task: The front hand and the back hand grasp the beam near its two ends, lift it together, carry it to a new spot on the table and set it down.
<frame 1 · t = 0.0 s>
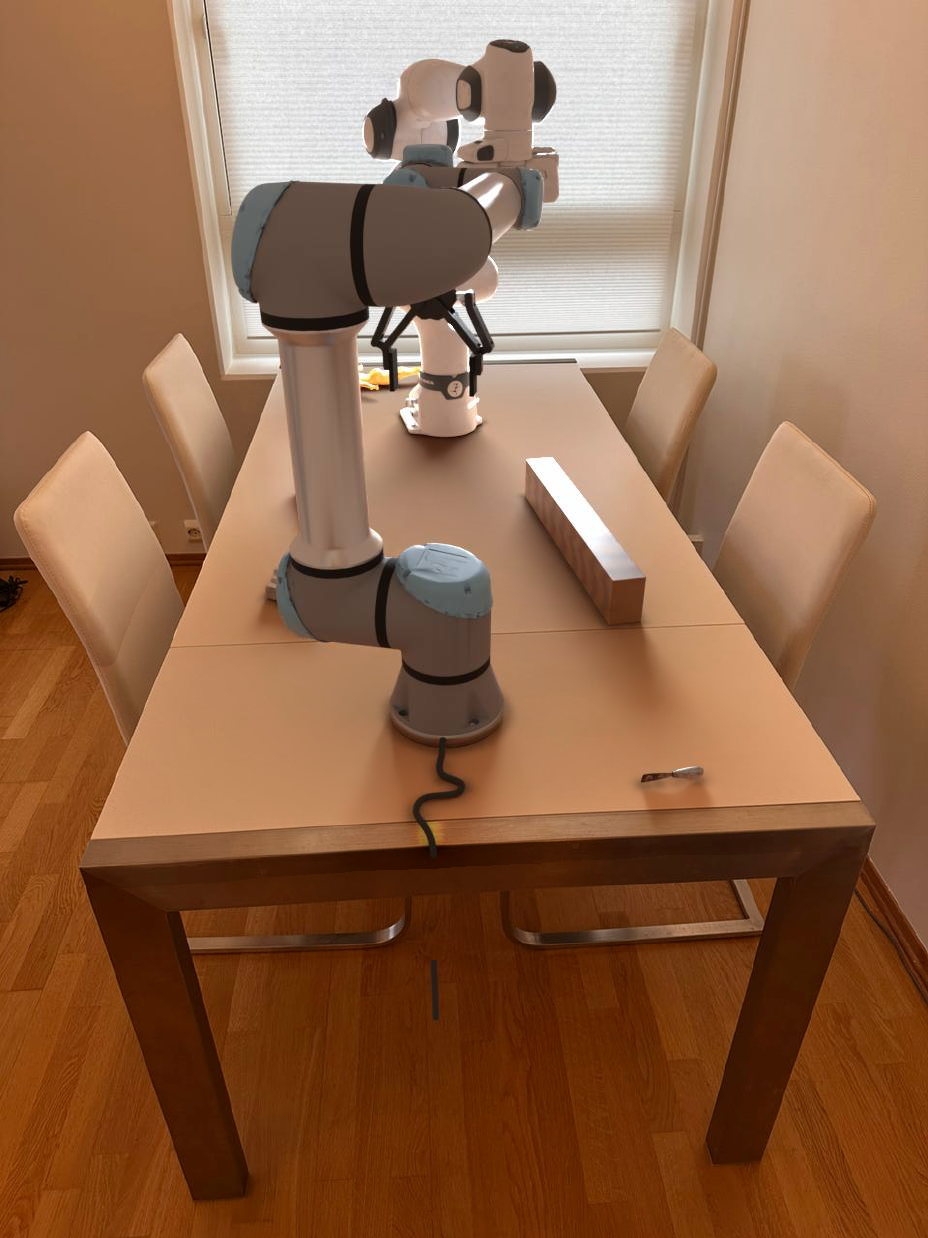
front hand: (433, 391, 149), 28 cm above the table, tool pointing down, fingers open, 13 cm apart
back hand: (506, 231, 166), 48 cm above the table, tool pointing down, fingers open, 8 cm apart
beam: (575, 550, 161), on the table
human figure: (378, 385, 244), on the table
stone: (304, 597, 147), on the table
handgun: (332, 501, 179), on the table
putty knife: (671, 781, 109), on the table
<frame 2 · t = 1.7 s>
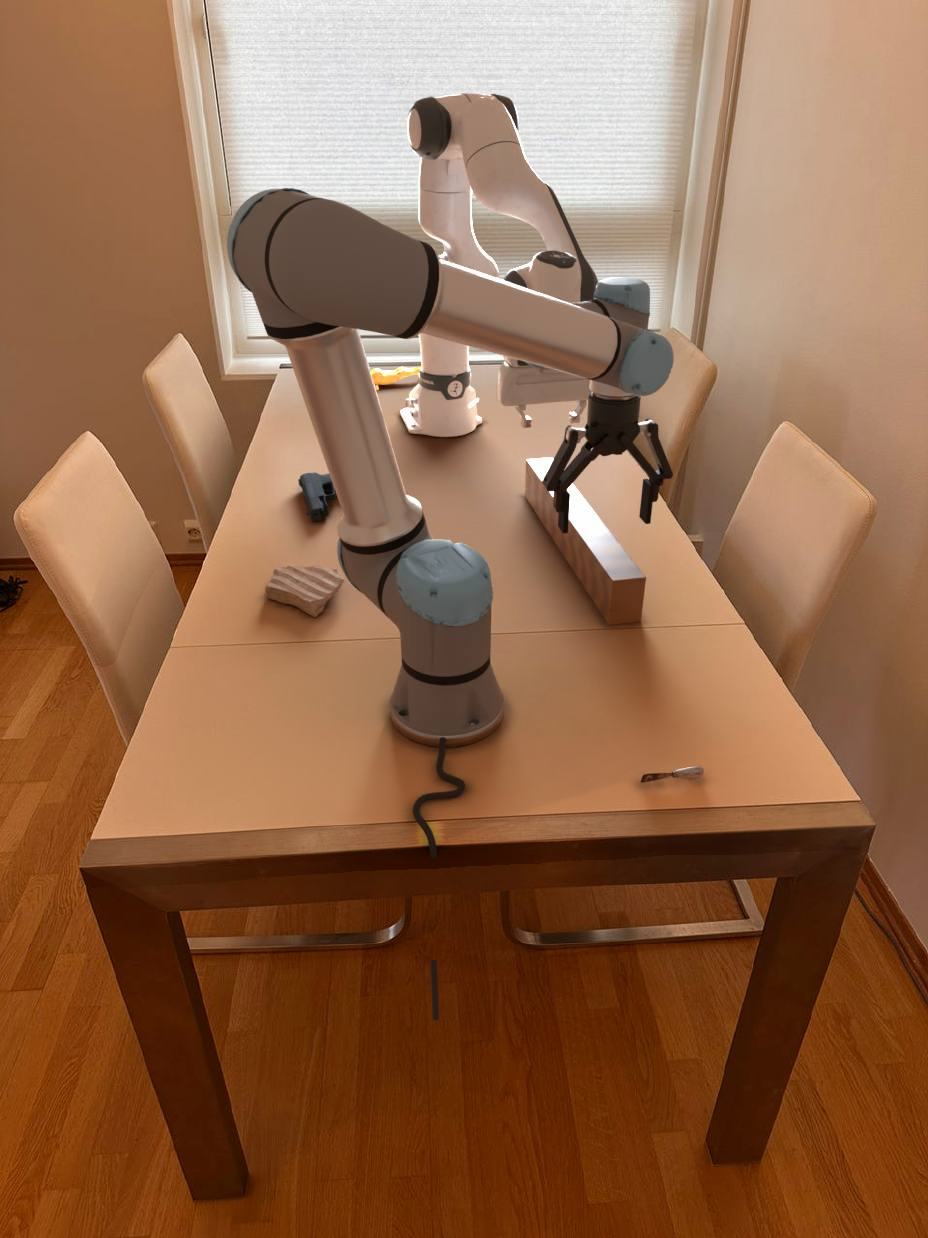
front hand: (604, 525, 140), 13 cm above the table, tool pointing down, fingers open, 13 cm apart
back hand: (550, 424, 167), 17 cm above the table, tool pointing down, fingers open, 8 cm apart
nothing on the table moved.
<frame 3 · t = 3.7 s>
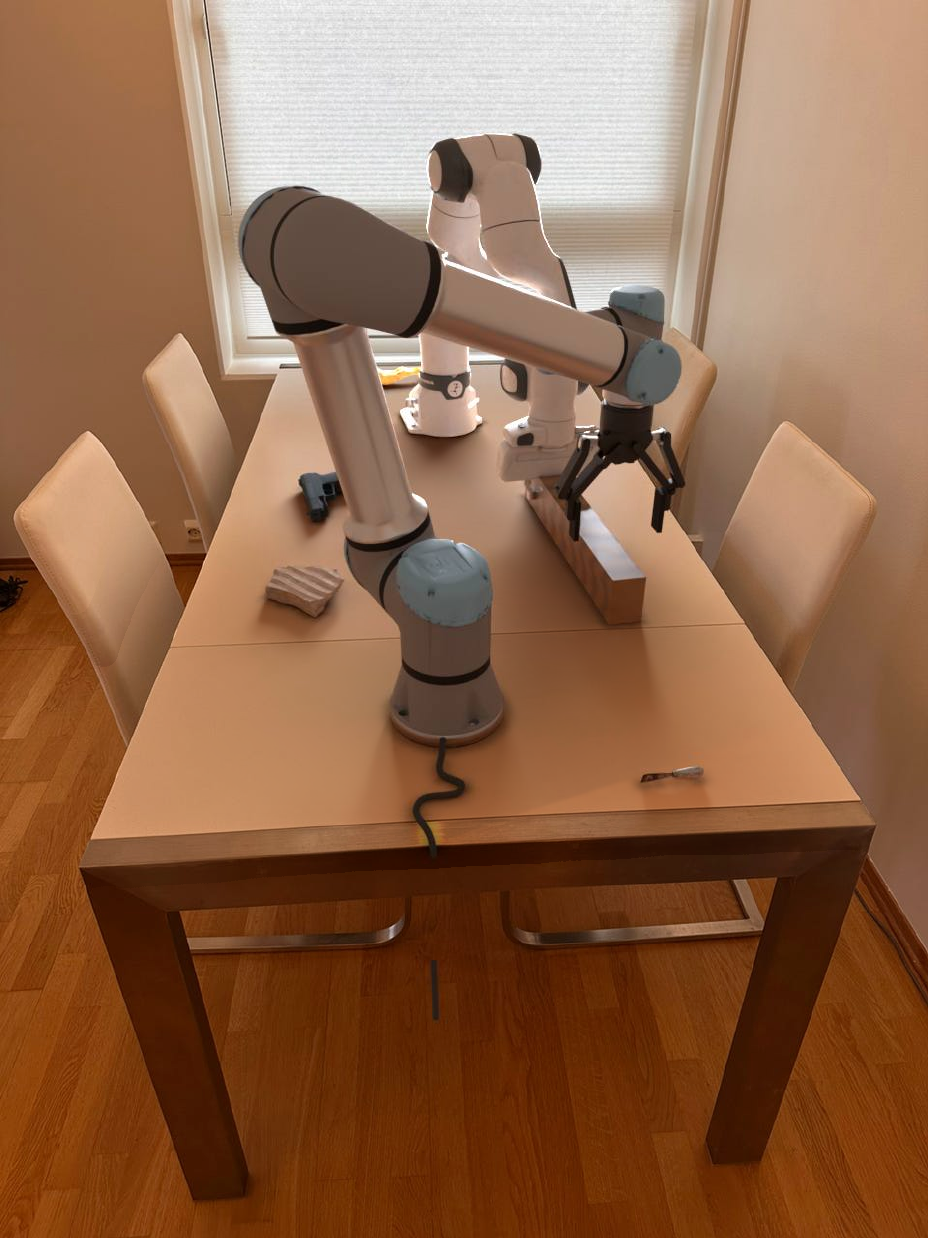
front hand: (615, 533, 139), 12 cm above the table, tool pointing down, fingers open, 13 cm apart
back hand: (547, 497, 174), 3 cm above the table, tool pointing down, fingers closed on beam, 5 cm apart
beam: (575, 550, 161), on the table, touching back hand
everything else where it was.
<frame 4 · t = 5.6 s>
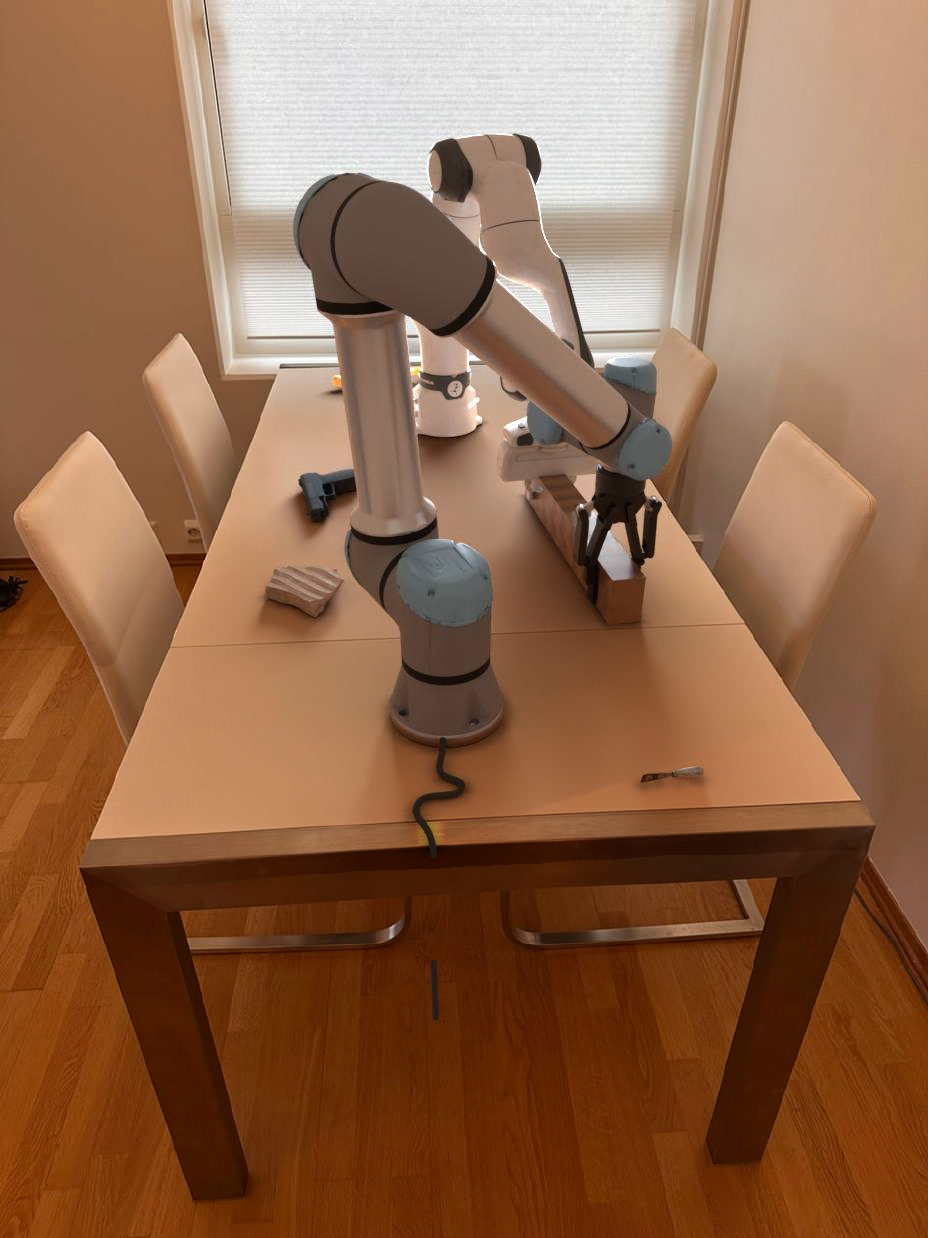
front hand: (609, 597, 146), 1 cm above the table, tool pointing down, fingers closed on beam, 5 cm apart
back hand: (547, 497, 174), 3 cm above the table, tool pointing down, fingers closed on beam, 5 cm apart
beam: (575, 550, 161), on the table, touching front hand, back hand
everything else where it was.
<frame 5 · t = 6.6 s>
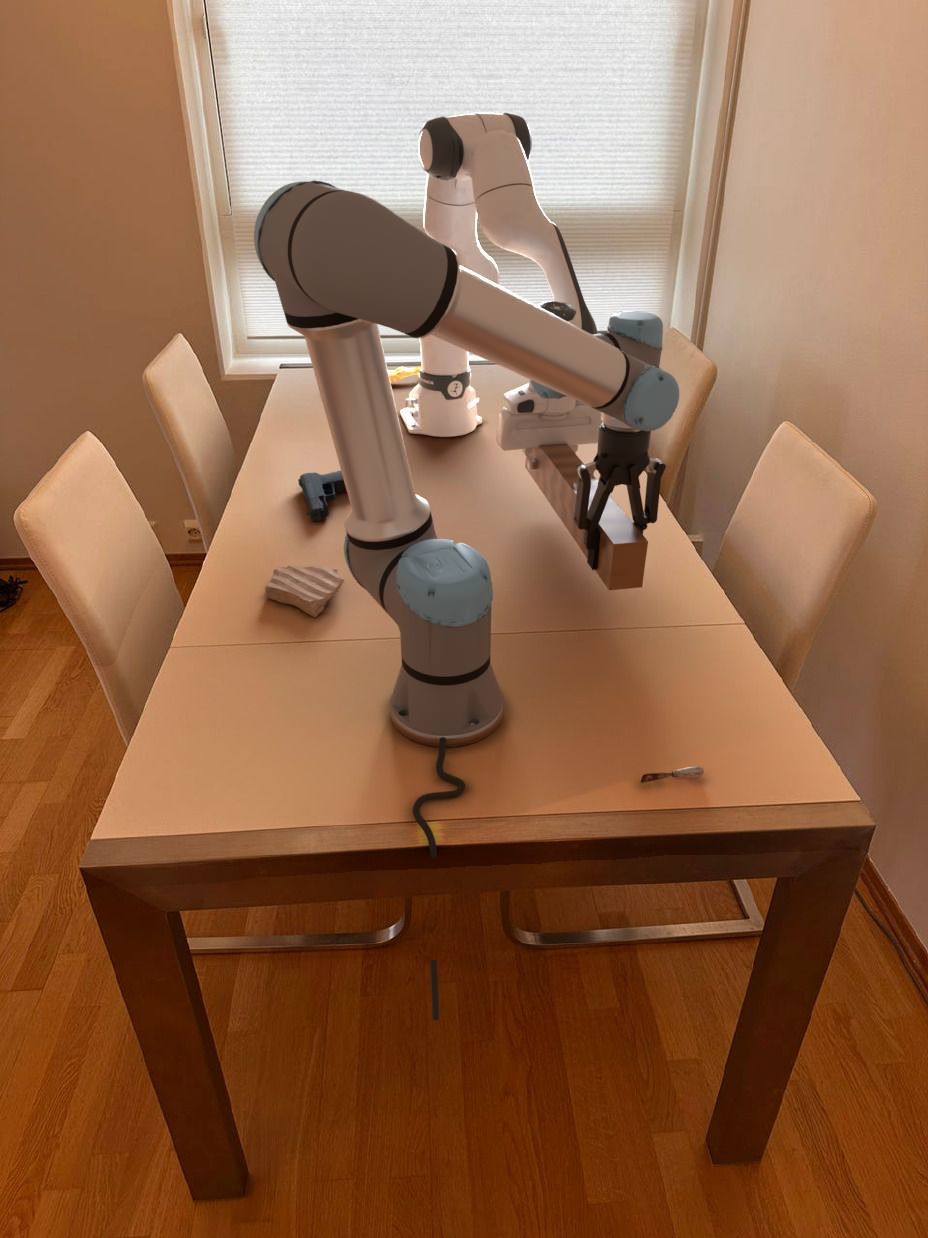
front hand: (610, 563, 142), 7 cm above the table, tool pointing down, fingers closed on beam, 5 cm apart
back hand: (548, 467, 171), 9 cm above the table, tool pointing down, fingers closed on beam, 5 cm apart
beam: (576, 519, 157), point 6 cm above the table, touching front hand, back hand
everything else where it was.
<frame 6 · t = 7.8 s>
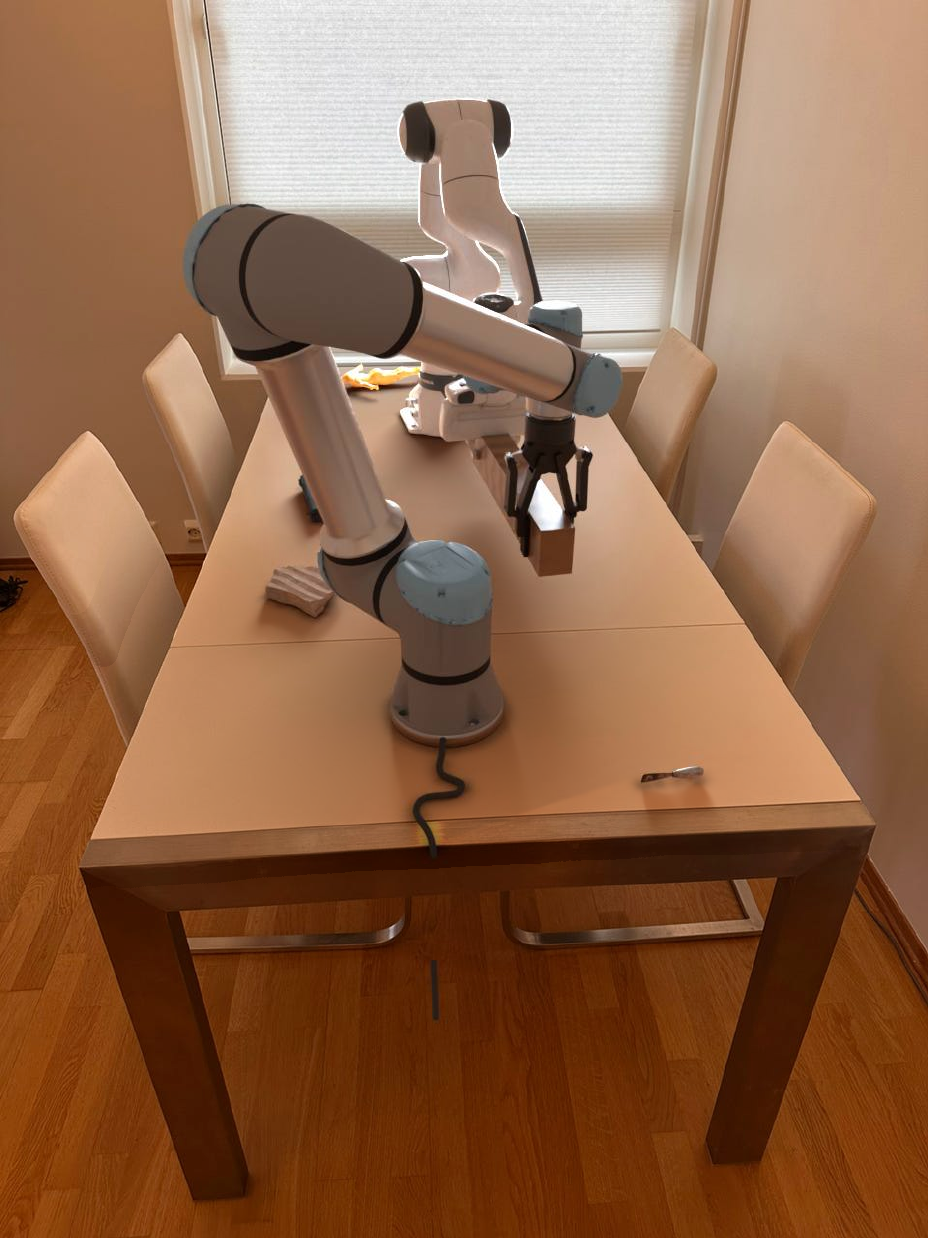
front hand: (542, 551, 144), 8 cm above the table, tool pointing down, fingers closed on beam, 5 cm apart
back hand: (492, 458, 173), 10 cm above the table, tool pointing down, fingers closed on beam, 5 cm apart
beam: (515, 508, 159), point 7 cm above the table, touching front hand, back hand
everything else where it was.
when the front hand's fingers open (2 cm above the table, at t = 9.9 s): beam drops 1 cm, on the table.
when the back hand's fingers open (4 cm above the table, at t = 10.1 s): beam stays where it is, on the table.
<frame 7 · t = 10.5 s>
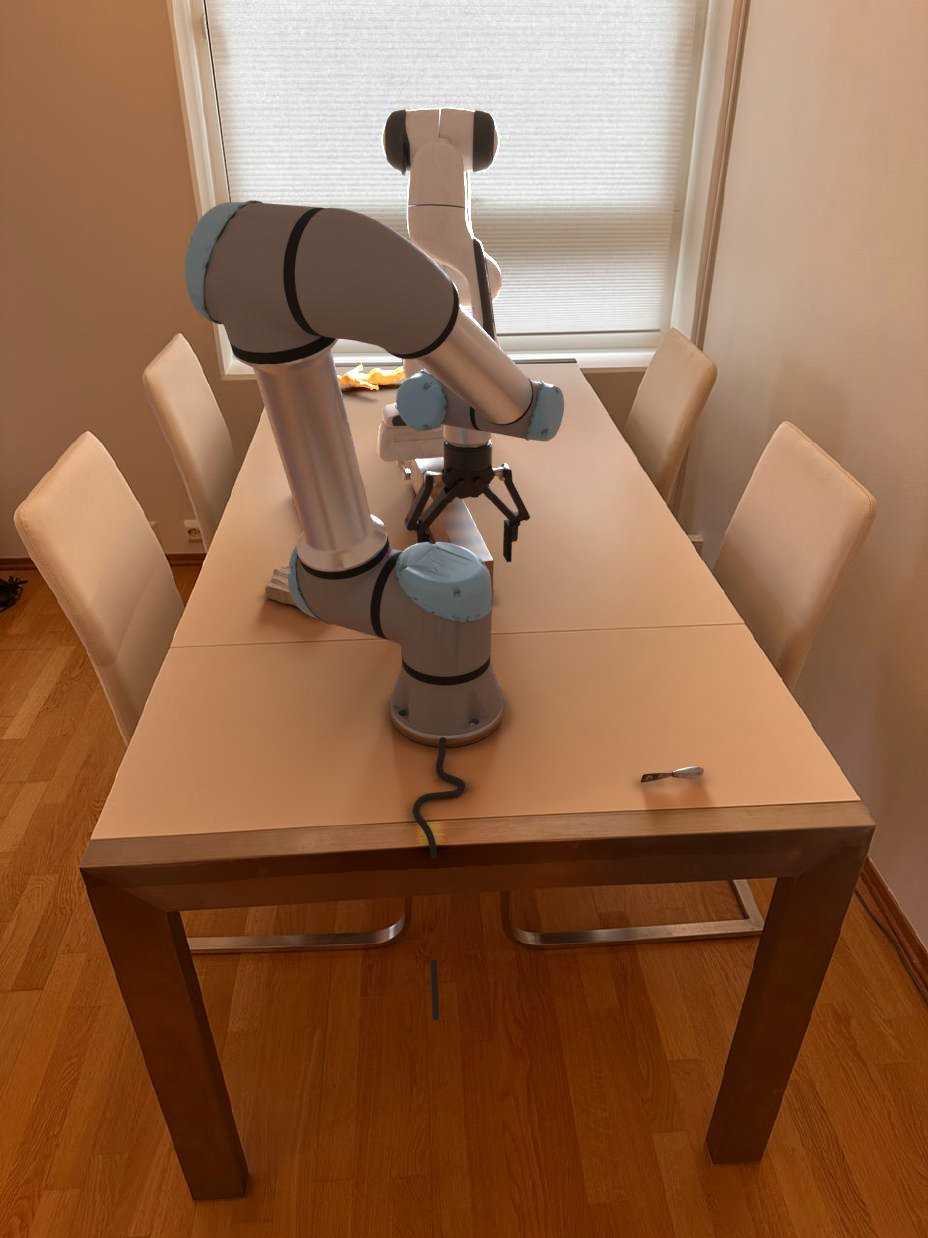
front hand: (467, 562, 148), 4 cm above the table, tool pointing down, fingers open, 13 cm apart
back hand: (430, 477, 178), 5 cm above the table, tool pointing down, fingers open, 8 cm apart
beam: (447, 537, 166), on the table
everything else where it was.
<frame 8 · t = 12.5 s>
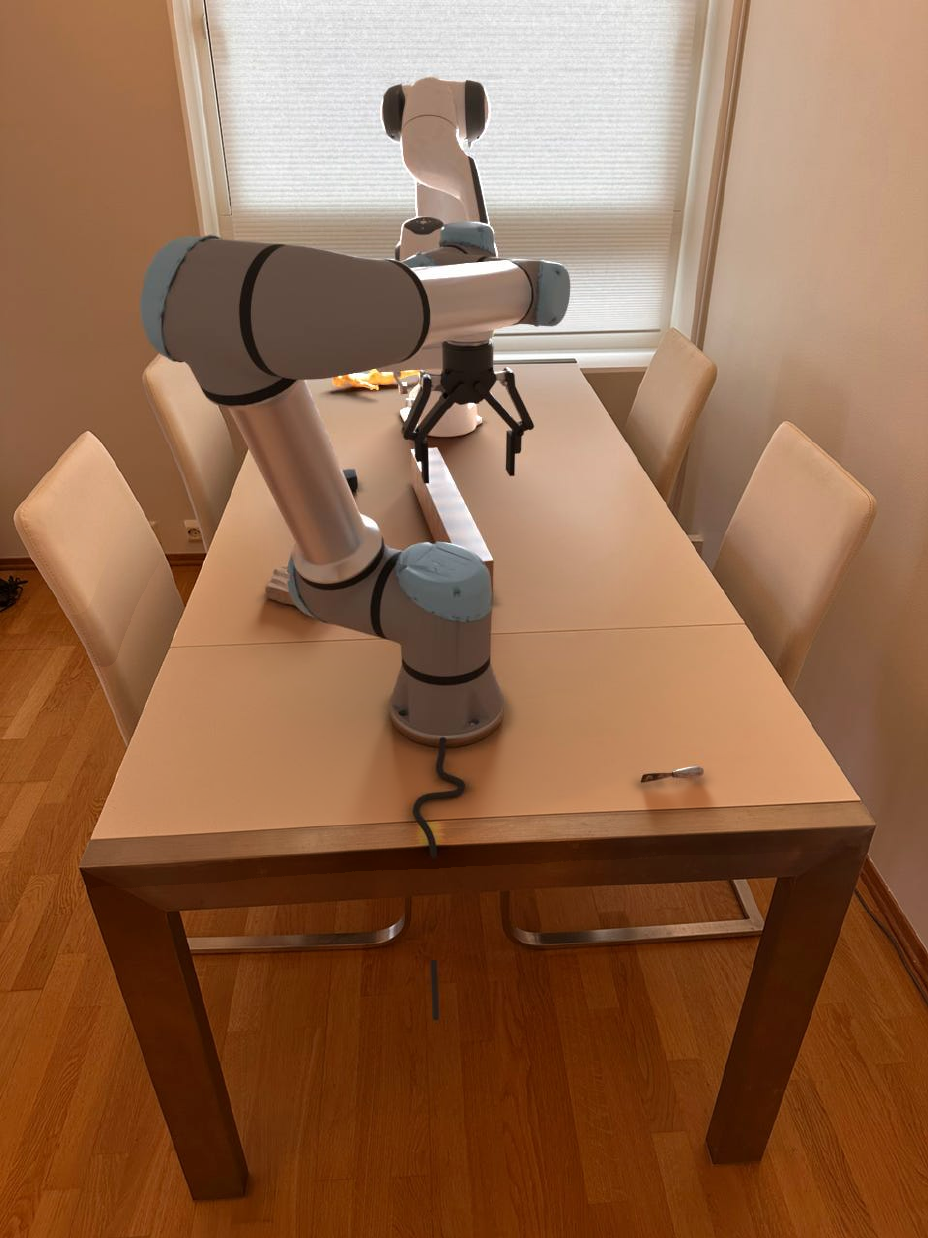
front hand: (468, 476, 140), 20 cm above the table, tool pointing down, fingers open, 13 cm apart
back hand: (428, 391, 168), 22 cm above the table, tool pointing down, fingers open, 8 cm apart
nothing on the table moved.
at the end: beam inside the target area (0.3 cm from its centre), on the table; beam tilted 0°; beam never tilted more than 2° during the clip; both hands held the beam at the same time; the front hand is holding nothing; the back hand is holding nothing; beam at rest at the end (0.0 cm/s) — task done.
